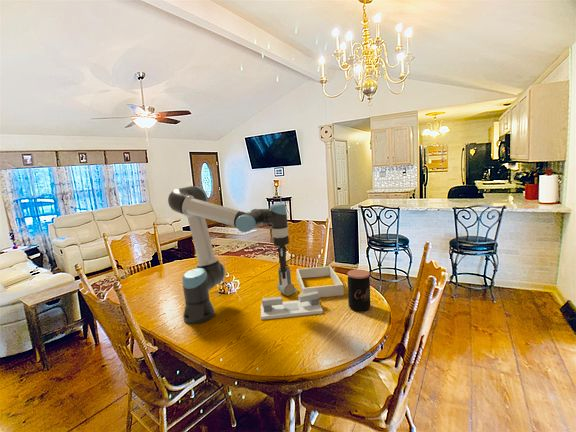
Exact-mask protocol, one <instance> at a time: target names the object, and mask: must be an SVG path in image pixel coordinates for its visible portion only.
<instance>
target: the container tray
mask: <svg viewBox="0 0 576 432" xmlns="http://www.w3.org/2000/svg"><path fill="white" fill-rule="evenodd" d="M329 276H330V278H331V280H332V281H333V283H334V284H330V285H322V286H321V285H320V286H319V285H318V286H309V287H305V283H304V282H303V279H307V278H309V279H310V278H317V277H329ZM296 279H297V283H298V285H299V289H300V291H301V294H305V293H309V292H314V291H317V292H318V293H319V299H320V298H329V297H330V298H331V297H339V296H344V294H345V293H344V284H343V282H342V281H341V279H340V278H339V276H338V275H337V273H336V272H335V270H334V269H333V268H332V266H331V265H326V266H317V267H316V266H313V267H305V268H296Z"/></svg>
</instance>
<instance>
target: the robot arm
mask: <svg viewBox="0 0 576 432" xmlns="http://www.w3.org/2000/svg"><path fill="white" fill-rule="evenodd" d="M167 198H168V199H167V202H168V206H169V207H170V209H171V210H172V211H174V212H175V213H179V214H182V215H183V216H185V217H186V218H187V221H188V225H189V229H190V234H191V236H192V241H193V244H194V248H195V253H196V256H197V260H198V262H197V263H196V268H193V269H190V270H187V271H186V272H185V273H183V276H182V289H183V295H184V303H185V305H184V310H183V316H182V317H183V321H184V322H185V323H186V324H191V325H196V324H201V323H204V322H205V323H206V322H207V321H210V320H211V319H212V318H214V316H215V313H216V312H215V308H214V305H213V304H212V302H211V300H210V290H212V289H213V288H214V287H216V286H217V285H219V284H221V282H222V281H223V280H224V279H225V277H226V268H225V266H224V264H222V262H220V260H219V258H218V257H216V256H215V253H214V249H213V244H212V241H211V237H210V233H209V228H208V224H207V221H206V219H207V220H209V221H213V222H217V223H221V224H225V225H227V226H231V227H234V228H236V229H237V230H238V231H239V232H241V233H247V232H248V233H249V232H250V231H253V230H254V229H256V228H259V226H262V225H271V230H272V231H271V232H272V240H273V242H272V243H273V245H274V246H277V253H278V258H279V268H280V269H281V271H279V272H281V279H282V285H288V283H287V271H286V267H289V265H288V264H287V258H286V257H287V245H289V243H290V237H289V231H290V228H289V226H288V212H287V206H286V204H284V203H273V204H271V205H269V208H254V209H253V208H252V209H249V210H248V211H247V212H245V211H240V210H238V209H234V208H230V207H227V206H224V205H220V204H215V203H213V202H208V194H207V192H206V191H205V189H203V188H202V187H200V186H198V185H197V186H196V185H195V186H193V185H191V186H186V187H179V188H175V189H173V190H172V191H170V193H169V195H168V197H167Z"/></svg>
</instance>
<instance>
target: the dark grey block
mask: <svg viewBox="0 0 576 432" xmlns="http://www.w3.org/2000/svg"><path fill="white" fill-rule="evenodd" d="M279 271H281V269H280V267H278V280H279V281H278V283H280V285H282V279H281V272H279ZM286 271H287V283H288V284H291V283H292V275H291V267H290V266H286Z"/></svg>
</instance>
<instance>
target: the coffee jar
mask: <svg viewBox="0 0 576 432" xmlns="http://www.w3.org/2000/svg"><path fill="white" fill-rule="evenodd" d="M346 274H347V297H348V298H347V301H348V303H347V304H348V307H349V309H350V310H351V311H354V312H358V313H364V312H367V311H369V310H370V308H371V279H370V275H371V274H370V272H369V271H368V270H365V269H361V268H360V269H351V270H348V271H347V273H346Z"/></svg>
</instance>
